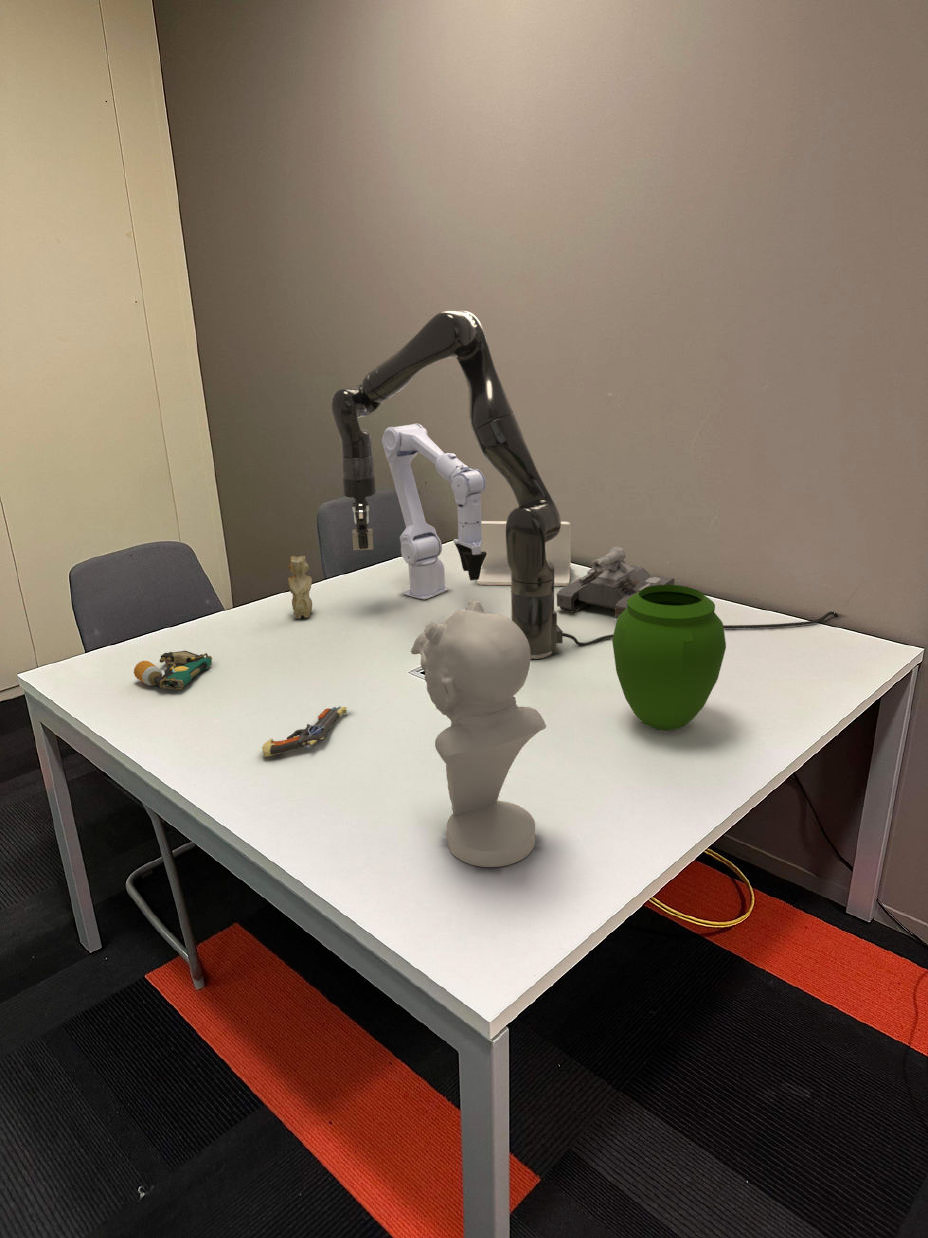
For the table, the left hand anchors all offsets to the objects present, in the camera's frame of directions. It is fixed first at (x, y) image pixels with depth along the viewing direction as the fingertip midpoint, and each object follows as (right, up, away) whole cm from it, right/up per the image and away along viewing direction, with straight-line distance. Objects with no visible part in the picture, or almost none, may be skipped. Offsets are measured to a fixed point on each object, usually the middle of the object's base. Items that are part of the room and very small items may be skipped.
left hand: (471, 574), depth 210 cm
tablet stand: (+15, +1, +29) cm, 33 cm away
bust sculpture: (-1, -42, -85) cm, 95 cm away
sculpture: (-42, -10, +3) cm, 43 cm away
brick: (-26, +6, -5) cm, 27 cm away
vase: (+35, -30, -55) cm, 71 cm away
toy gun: (-30, -32, -56) cm, 71 cm away
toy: (+36, -7, +4) cm, 37 cm away
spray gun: (-62, -23, -29) cm, 73 cm away
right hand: (-26, +7, -5) cm, 27 cm away
